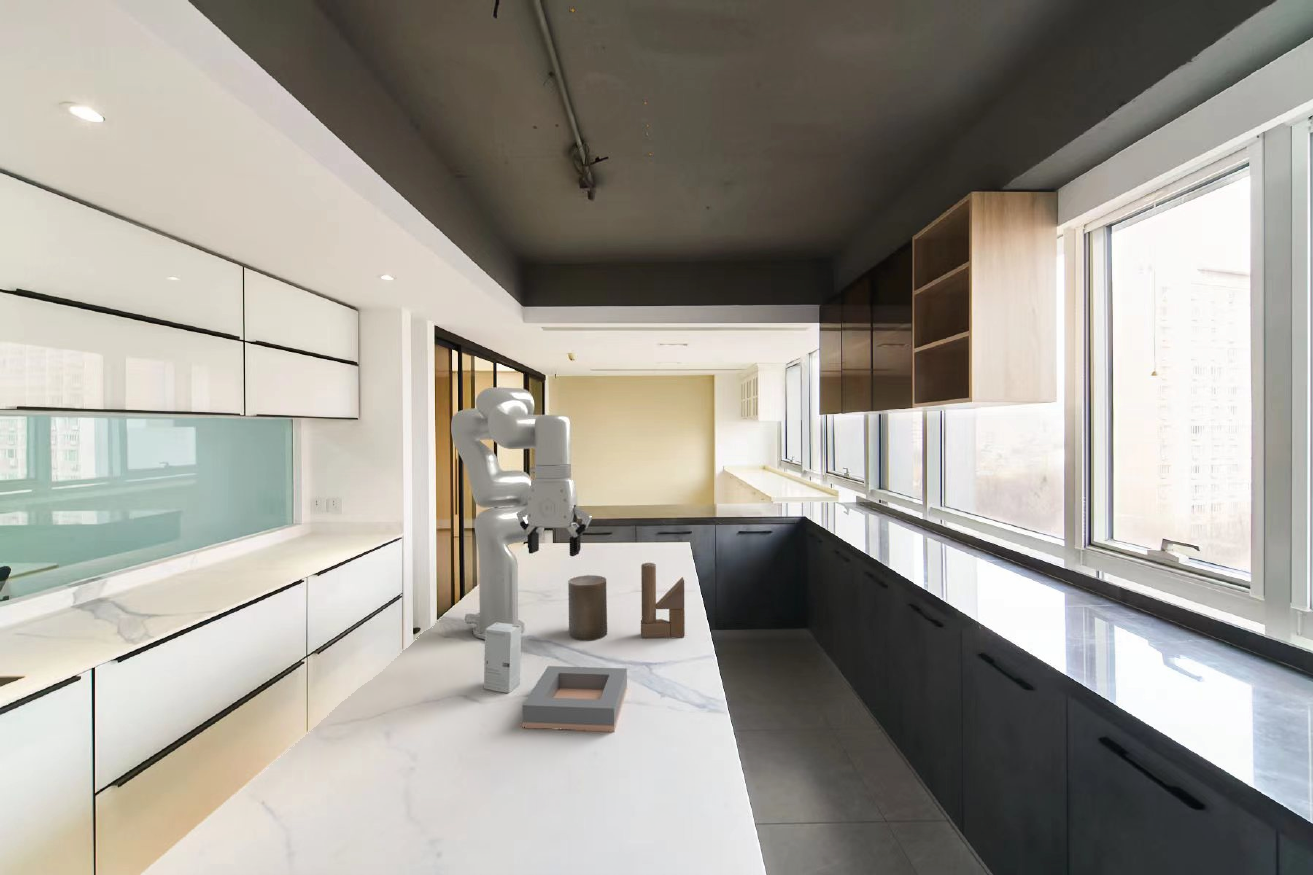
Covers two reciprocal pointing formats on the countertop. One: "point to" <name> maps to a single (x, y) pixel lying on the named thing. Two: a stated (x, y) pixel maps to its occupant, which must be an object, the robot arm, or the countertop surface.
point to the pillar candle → (587, 607)
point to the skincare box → (502, 657)
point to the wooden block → (661, 607)
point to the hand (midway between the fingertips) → (553, 553)
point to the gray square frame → (576, 699)
